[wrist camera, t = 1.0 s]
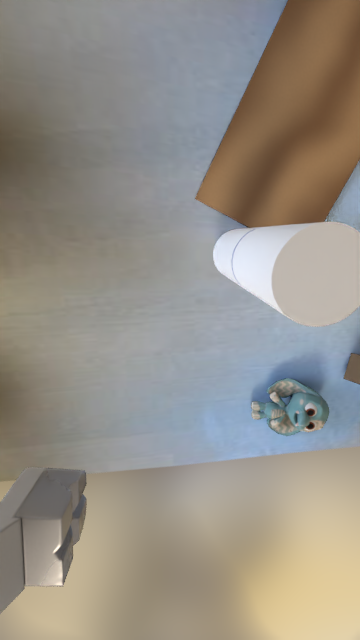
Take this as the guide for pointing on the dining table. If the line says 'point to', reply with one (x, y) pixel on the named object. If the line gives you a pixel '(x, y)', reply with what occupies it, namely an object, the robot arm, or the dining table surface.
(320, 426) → the stuffed animal
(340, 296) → the cylindrical container
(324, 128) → the brown flat board
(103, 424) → the dining table surface
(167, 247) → the dining table surface
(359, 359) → the photo frame
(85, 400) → the dining table surface
